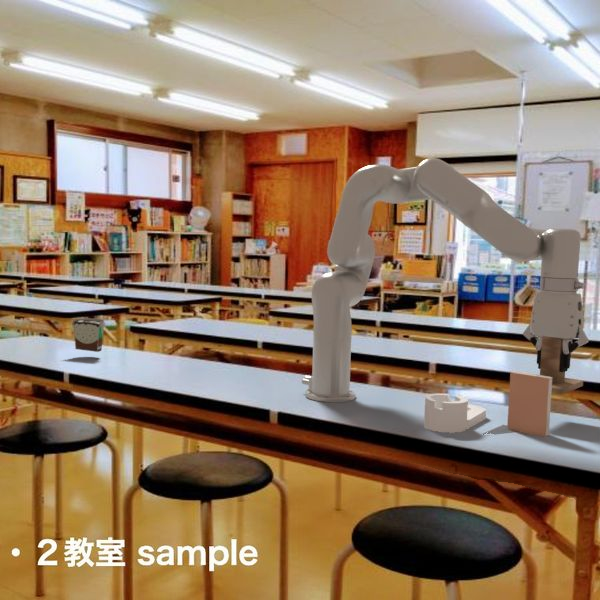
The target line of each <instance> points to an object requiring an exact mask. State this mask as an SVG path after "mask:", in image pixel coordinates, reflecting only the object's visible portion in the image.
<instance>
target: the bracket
mask: <svg viewBox="0 0 600 600" xmlns="http://www.w3.org/2000/svg"><path fill="white" fill-rule="evenodd" d="M454 399H455V400H451V394H450V393H429V394H427V395H425V399H424V414H423V415H424V417H423V418H424V419H423V420H424V421H423V427H424V428H425V429H427V430H429V431H432V432H436V431H438V433H444V432H446V434H450V433H451V434H455V433H454V432H458V433H462V432H465V431H467V430H469V429H470V427H471V428H473V427H474V426H475V425H477V424H479V423H481V422H482V421H484V420H486V417H487V408H484V407H483V406H482V407H481V406H478V405H475V404H470V403H469V399H468V398H467V397H466V396H465V397H464V396H463V395H456V396H455V398H454ZM466 429H467V430H466ZM447 432H449V433H447Z"/></svg>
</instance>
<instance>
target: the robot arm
mask: <svg viewBox="0 0 600 600" xmlns="http://www.w3.org/2000/svg"><path fill="white" fill-rule="evenodd" d="M428 200H431V201H433V202H435V204H437V205H438V206H440V207H441V208H443V210H444V211H446V212H448V213H449V214H450V215H451V216H453V217H454V218H456V219H457V220H458V221H459V222H461V224H463V225H464V226H465V227H466V228H468V229H469V230H470V231H473V232H474V233H475V234H476V235H477V236H479V237H480V238H481V239H482V240H484V241H485V242H486V243H488V244H489V245H490V246H492V247H493V248H494V249H495V250H498V251H499V252H500V253H501V254H503V255H504V256H505V257H507V258H509V259H510V260H512V261H514V262H521V263H522V262H530V261H531V262H532V261H541V266H540V267H541V268H540V280H539V290H537V291H536V293H535V296H534V300H533V304H532V310H531V317H530V323H529V325H528V326H527V327H526V329H524V331H523V333H522V334H523V336H524V337H525V338H526V339H527V340H528V341H530V343H531V344H532V345H533V346H534V347H535V350H536V351H537V352H536V365H537V369H539V370H540V364H541V349H542V336H548V337H556V338H561V339H562V347H563V353H562V354H561V356H560V372H565V373H566V372H568V370H569V369H570V367H571V358H572V357H571V354H572V353H573V352H574V351H575V350H577V349H578V348H580V347H581V346H583V345H586V344H588V343H589V341H590V340H589V338H588V337H587V334H586V333H585V331H584V327H583V326H584V321H583V320H584V314H583V313H584V312H583V301H582V294H581V293H578V291H579V290H580V289H584V288H585V283H584V282H581V281H580V279H579V278H578V276H579V265H580V252H581V251H580V250H581V249H580V248H581V234H580V232H579V230H576V229H571V228H570V229H569V228H551V229H547V230H546V229H539V228H533V227H528V226H527V225H526V224H524V223H523V222H521V221H520V220H519V219H517V218H516V217H514V216H513V215H512V214H510V213H509V212H508V211H506V210H505V209H504V208H503V207H501V206H500V205H498V204H497V202H495V201H494V200H493V198H492V197H491V196H490V194H489V193H488V192H487V191H486V190H485V189H482V188H481V187H480V186H478V185H477V184H475V183H474V182H473V181H471V180H470V179H469V178H467V177H465V176H464V175H463V174H462V173H460V172H459V171H458V170H456V169H455V168H454V166H452V165H451V164H449V163H447V162H446V161H444V160H442V159H440V158H435V157H430V158H426V159H424V160H422V161H421V162H420V163H419V164H418V165H417V166H414V167H407V168H406V167H405V168H397V167H393V166H391V165H387V164H382V163H381V164H380V163H379V164H370V165H367V166H364V167H362V168H360V169H358V170H357V171H355V172H354V173H353V174H352V175H351V176H350V177H349V179H348V180H347V182H346V184H345V185H344V187H343V190H342V194H341V199H340V203H339V205H338V206H339V207H338V210H337V214H336V216H335V219H334V224H333V227H332V232H331V234H330V238H329V241H328V245H327V253H326V254H327V258H328V260H329V261H330V263H331V264H332V265H334V266H335V269H334V271H329V272H325V273H323V274H321V275H320V276H319V277H317V278H316V280H315V281H314V283H313V285H312V289H311V304H312V313H313V338H312V339H313V343H312V367H311V368H312V370H311V371H312V373H311V376H310V375H305V376H304V378H303V379H302V380H301V384H302V385H304V386H305V385H306V386H308V389H306V391H305V394H304V396H305V398H307V399H309V400H312V401H316V402H324V403H344V402H350V401H351V402H352V401H353V400H355V399H356V392H354V391H353V390H351V389H350V386H351V355H352V330H353V329H352V316H351V307H353V306H356V305H357V304H358V303H360V301H361V300H362V299H363V297H364V295H365V292H366V289H367V287H368V283H369V279H370V276H371V272H372V268H373V265H374V263H375V262H374V261H375V257H376V245H375V242H374V239H373V238H372V237H371V235H370V234H368V233H369V230H370V226H371V223H372V219H373V213H374V206H375V204H376V203H377V202H382V203H383V202H384V203H388V204H393V205H395V204H405V203H406V204H407V203H414V202H419V201H420V202H421V201H428ZM575 339H578V340H576V341H574V342H573V340H575Z"/></svg>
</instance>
